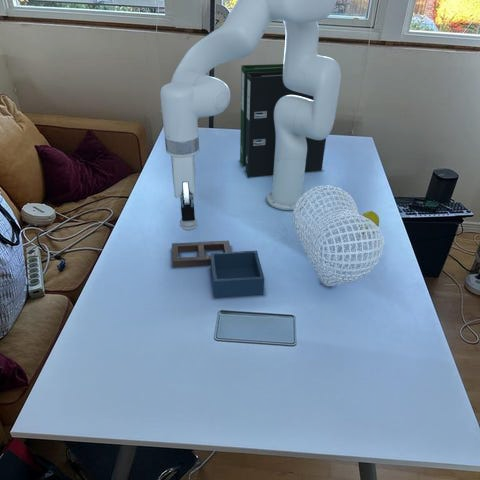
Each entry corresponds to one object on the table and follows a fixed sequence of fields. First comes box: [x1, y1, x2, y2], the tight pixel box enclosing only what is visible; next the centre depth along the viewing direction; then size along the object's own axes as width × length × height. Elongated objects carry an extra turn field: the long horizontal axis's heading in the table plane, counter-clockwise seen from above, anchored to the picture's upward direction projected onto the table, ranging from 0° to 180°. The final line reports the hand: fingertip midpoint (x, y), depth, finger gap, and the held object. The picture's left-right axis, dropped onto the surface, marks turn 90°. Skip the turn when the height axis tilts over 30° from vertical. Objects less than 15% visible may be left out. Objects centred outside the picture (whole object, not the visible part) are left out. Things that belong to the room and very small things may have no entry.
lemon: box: [360, 210, 380, 237], centre depth 133 cm, size 6×6×8 cm
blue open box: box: [209, 250, 265, 299], centre depth 116 cm, size 12×12×5 cm
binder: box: [239, 63, 327, 178], centre depth 159 cm, size 27×15×32 cm, turn 102°
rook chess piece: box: [179, 198, 198, 232], centre depth 117 cm, size 4×4×8 cm
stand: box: [171, 240, 232, 269], centre depth 125 cm, size 9×16×2 cm, turn 97°
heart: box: [292, 185, 385, 287], centre depth 111 cm, size 28×16×22 cm, turn 14°
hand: (188, 215), depth 117 cm, fingers closed on rook chess piece, 3 cm apart
